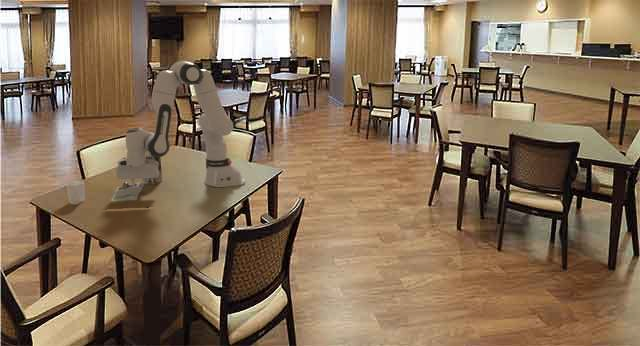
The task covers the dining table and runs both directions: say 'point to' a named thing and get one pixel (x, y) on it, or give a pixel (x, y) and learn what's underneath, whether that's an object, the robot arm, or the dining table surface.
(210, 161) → the robot arm
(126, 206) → the dining table surface
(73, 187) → the white cup
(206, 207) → the dining table surface
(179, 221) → the dining table surface
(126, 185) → the post
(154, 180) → the coffee box
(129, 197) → the keeper plate
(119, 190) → the rectangular frame
